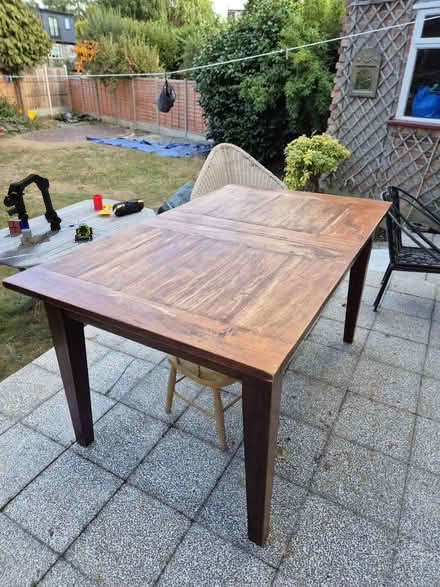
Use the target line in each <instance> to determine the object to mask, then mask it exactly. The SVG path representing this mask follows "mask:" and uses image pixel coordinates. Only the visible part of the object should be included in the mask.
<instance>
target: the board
mask: <svg viewBox="0 0 440 587" xmlns="http://www.w3.org/2000/svg"><path fill="white" fill-rule="evenodd" d="M33 237H34V240H35V244H34V245H36V244H43V243H48V242H51V238H50V237H49V234H48V233H41V234H36V235H33ZM19 239H20V242H21V245H22V246H23V247H24V246H26V245H24V244H23V240H22V237H20V238H19ZM30 245H31V246H32V244H29V245H28V246H30Z"/></svg>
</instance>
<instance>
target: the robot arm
mask: <svg viewBox="0 0 440 587" xmlns="http://www.w3.org/2000/svg"><path fill="white" fill-rule="evenodd" d="M32 183H34V184H36V187H37V189H38V190H39V191H40V192H41V197H42V200H43V203H44V208H45V213H44V214H43V215H44V219H45V220H46V222H47V223H48V224H49V228H50V231H51V232H52V231H53V232H54V231H59V230H61V229H62V228H61V223H62V220H63V219H62V218H61V217H59V215H58V213H57V211H56V210H55V209H54V206H53V203H52V199H51V195H50V191H49V189H50V181H49V179H48V178H47V177H44V176H40V175H39V174H36V173H30V174H29V175H27V176H26V177H25V178H23V179H22V180H20V181H16V182H12V183H10V184H9V187H8V191H7V193H6V194H7V195H4V198H3V202H2V203H3V205H4V206H5V207H7V208H10V209H8V210H6V213H7V215H8V216H9V217H12V216H14V215H17V217H18V219H19V220H21V221H22V223H23V225H24V227H25V226H26V224H27V219H28V220H29V219H30V215H29V214H28V213H27V208H26V202H25V200H24V196H25V195H26V194H25V193H24V191H25V188H27V187H28V186H30V185H32Z"/></svg>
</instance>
